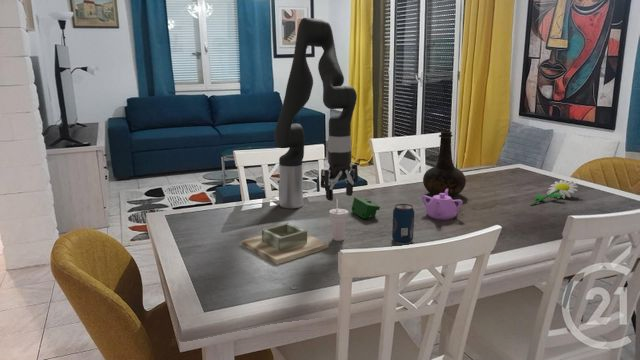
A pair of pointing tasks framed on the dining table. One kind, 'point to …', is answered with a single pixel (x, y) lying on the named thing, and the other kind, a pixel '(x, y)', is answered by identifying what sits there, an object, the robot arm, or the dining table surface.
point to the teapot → (441, 206)
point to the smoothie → (338, 222)
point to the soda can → (403, 223)
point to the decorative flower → (558, 190)
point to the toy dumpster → (364, 208)
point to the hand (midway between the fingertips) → (339, 197)
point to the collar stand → (284, 243)
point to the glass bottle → (444, 171)
